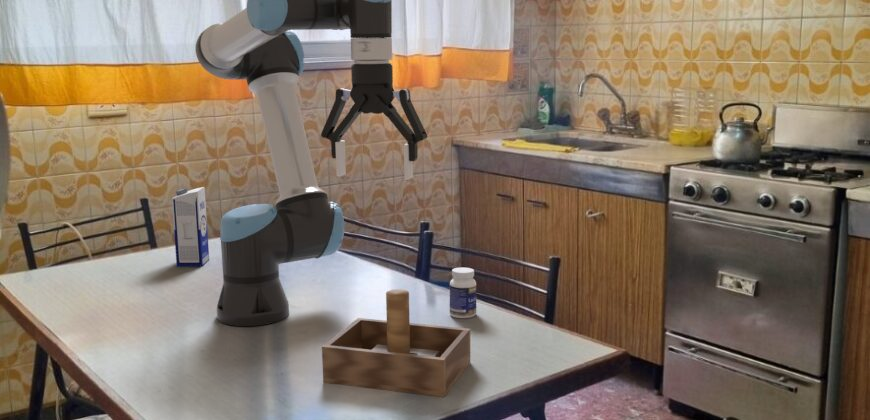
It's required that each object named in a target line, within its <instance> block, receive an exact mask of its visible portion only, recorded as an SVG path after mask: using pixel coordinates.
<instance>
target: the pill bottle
mask: <svg viewBox="0 0 870 420" xmlns="http://www.w3.org/2000/svg"><path fill="white" fill-rule="evenodd" d="M451 276H452V279H451V280H450V281H449V316H451V317H453V318H455V319H469V318H473V317H475V316H476V315H477V282H476V280H475V279H474V277H475V269H473V268H471V267H455V268H452V270H451Z"/></svg>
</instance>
